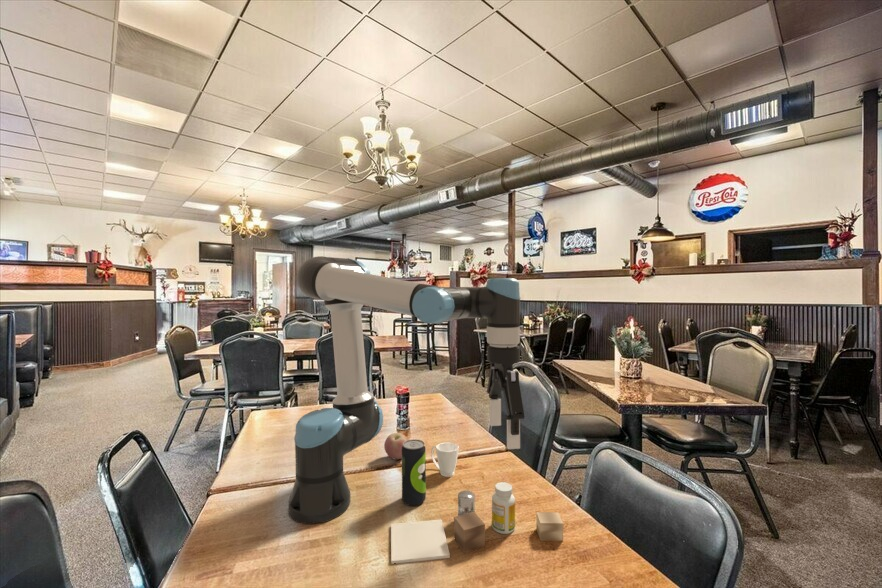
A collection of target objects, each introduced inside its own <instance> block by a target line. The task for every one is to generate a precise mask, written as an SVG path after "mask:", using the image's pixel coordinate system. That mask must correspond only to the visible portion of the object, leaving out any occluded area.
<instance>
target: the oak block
mask: <svg viewBox="0 0 882 588" xmlns="http://www.w3.org/2000/svg"><path fill="white" fill-rule="evenodd" d="M535 516H536V519H535V521H536V528H535V529H536V531H537V534H538V537H539V540H540V541H542V542H543V541H546V542H547V541H548V542H550V541H552V542H564V522H563V520H562V518H561V515H560V513H559V512H553V511H552V512H549V511H548V512H547V511H546V512H545V511H542V512H541V511H536V515H535Z"/></svg>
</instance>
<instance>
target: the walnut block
mask: <svg viewBox="0 0 882 588" xmlns="http://www.w3.org/2000/svg"><path fill="white" fill-rule="evenodd" d="M453 518H454V519H453V538H455V539H454V541H455V542H456V543H457V545H458V546H459V548H460V549H461V551H462V553H464V554H467V553H470V552H473V551H475V550H479V549H483V548H485V547H486V523H485V522H484V521H483V520H482V518H480V517H479V516H478V514H477V513H476V511H475V512H470V513H467V514H463V515H459V516H458V515H455V516H454V517H453ZM466 552H467V553H466Z"/></svg>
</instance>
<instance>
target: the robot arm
mask: <svg viewBox="0 0 882 588" xmlns="http://www.w3.org/2000/svg"><path fill="white" fill-rule="evenodd" d="M296 282H297V285H298V287H299V290H300V291H301V292H302V293H303V294H304V295H305V296H307V297H309V298H312V299H315V300H321V301H324V307H325V308H326V309H327V310H328V311H330V316H331V317H330V319H331V331H332V332H331V333H332V343H333V345H332V346H333V355H334V369H335V370H334V371H335V380H336V383H335V384H336V393H337V395H336V396H335V397H334V398H333V400H332V407H324V408H320V409H315V410H313V411H312V410H311V411H310V412H308V413H306V414H303V415H302V416H301V417H300V418H299V419H298V420H297V422H296V424H295V434H294V452H295V455H294V457H295V480H294V485H293V487H292V490H291V493H290V496H289V499H288V505H287V506H288V515H289V517H290V519H292V520H293V521H295V522H297V523H301V524H312V525H313V524H321V523H324V522H328V521H331V520H333V519H335V518H337V517H339V516H340V515H343V513H345V512H346V511H347V510H348V508H349V507H350V505H351V490H350V488H349V485H348V482H347V478H346V476H345V473H344V456H345V455H347V454H348V453H350V452H352V451H354V450H356V449H357V448H359V447H361V446H363V445H365V444H367V443H369V442H370V441H371V440H373V439H374V438H375V437H376V436H378V435H379V433H380V432H381V430H382V428H383V424H384V413H383V409H382V408H381V406H379V402H378V401H376V400H375V398H374V397H375V396H374V394H373V393H372V392H370V390H368V377H367V368H366V355H365V342H364V332H363V331H364V329H363V318H362V308H363V307H364V306H367V307H371V308H375V309H380V310H384V311H389V312H393V313H397V314H402V315H405V316H411V317H415V318H417V319H418V320H419V321H420V322H421V323H425V324H434V325H435V324H436V325H438V324H441V323H445V322H449V321H450V322H451V321H456V320H461V319H486V342H487V344H488V345H487V346H486V359H487V361H488V362H489V364H490V365H489V367H490V369H489V375H488V383H487V388H486V389H487V390H486V393H487V394H488V398H489V426H490V427H499V426H502V399H501V398H503V397H504V402H505V407H506V410H507V411H506V412H507V415H505V421H506V449H507V450H515V449H516V450H518V449H521V420H525V411H524V404H523V399H522V392H521V386H520V372H519V371H518V370H514V368H513V366H514V364H518V363H520V361H521V347H520V346H519V344H520V343H521V341H520V340H521V336H520V335H521V334H522V333H523V332H522V330H521V327H520V323H521V322H520V321H521V320H520V319H521V318H520V316H521V314H520V313H521V312H520V311H521V295H520V294H521V293H520V283H519V280H517V278H513V277H497V278H495V277H493V278H491V277H490V278H488V279H487V281H486V284H485V286H480V287H478V286H436V285H431V284H427V283H420V282H414V281H410V280H403V279H398V278H394V277H388V276H382V275H376V274H372V273H371V272H370V270H369V269H368V267H367V266H366V265H365V264H364V263H363V262H361V261H359V260H356V259H353V258H349V257H347V258H343V257H342V258H341V257H331V256H313V257H310V258H309V259H307V260H305V261H304V262H303V263H302V264H300V266H299V269H298V270H297V274H296ZM502 392H503V395H502Z"/></svg>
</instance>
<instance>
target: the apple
mask: <svg viewBox="0 0 882 588" xmlns="http://www.w3.org/2000/svg"><path fill="white" fill-rule="evenodd" d="M407 440H409V439H408V438H407V437H406V435H405V434H403V433H400V432H393V433H391V434H389V435H388V436H387V437H386V439H385V441H384V444H383V445H384V446H383V448H384V452H385V453H386V455H387V456H388V457H389V458H391V459H393V460H402V446H403V443H404V442H405V441H407Z"/></svg>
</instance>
